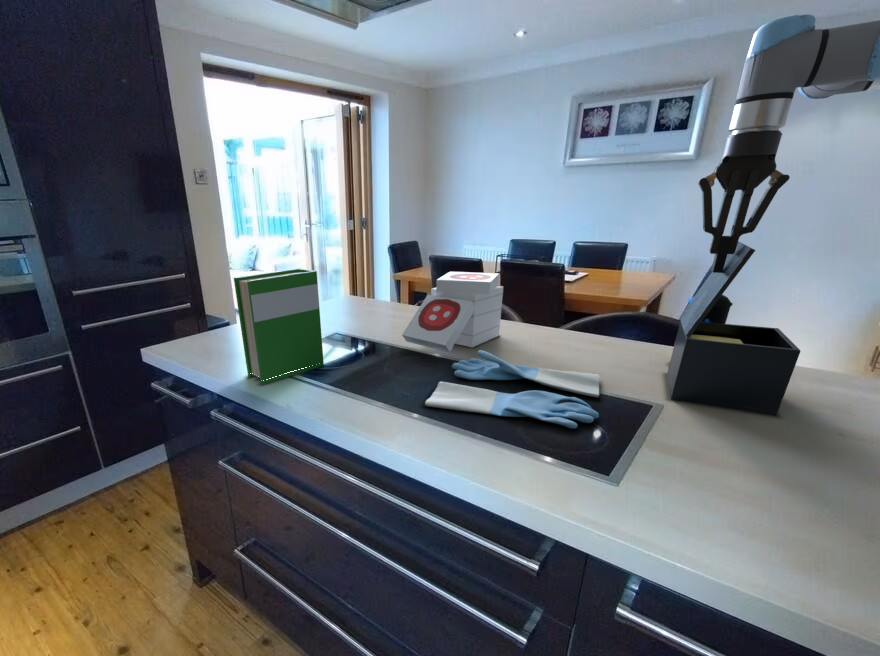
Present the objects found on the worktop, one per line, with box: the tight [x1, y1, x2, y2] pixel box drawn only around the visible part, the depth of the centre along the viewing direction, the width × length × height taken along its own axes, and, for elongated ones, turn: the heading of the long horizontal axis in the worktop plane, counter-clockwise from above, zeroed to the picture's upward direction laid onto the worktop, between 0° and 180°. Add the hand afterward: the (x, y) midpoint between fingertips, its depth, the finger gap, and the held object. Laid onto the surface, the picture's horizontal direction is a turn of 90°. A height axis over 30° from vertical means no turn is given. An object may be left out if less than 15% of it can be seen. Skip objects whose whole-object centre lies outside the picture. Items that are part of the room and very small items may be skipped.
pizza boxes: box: [401, 271, 504, 353], centre depth 126 cm, size 19×30×18 cm, turn 135°
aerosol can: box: [687, 294, 734, 324], centre depth 101 cm, size 8×8×20 cm
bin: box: [666, 321, 802, 416], centre depth 89 cm, size 17×16×13 cm
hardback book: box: [233, 267, 325, 385], centre depth 106 cm, size 18×7×24 cm, turn 131°
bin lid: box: [678, 240, 756, 338], centre depth 86 cm, size 17×16×1 cm
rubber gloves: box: [424, 349, 601, 430], centre depth 93 cm, size 27×33×6 cm
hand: (716, 271), depth 85 cm, fingers closed
